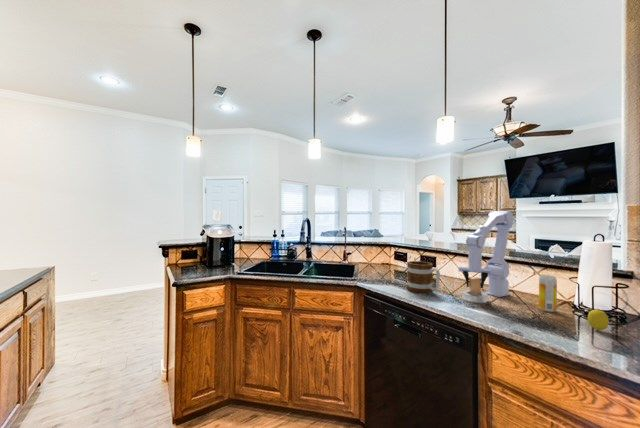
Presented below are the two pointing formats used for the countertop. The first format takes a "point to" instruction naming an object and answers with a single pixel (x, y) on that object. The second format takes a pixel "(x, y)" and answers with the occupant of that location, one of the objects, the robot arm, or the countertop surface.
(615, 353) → the countertop surface
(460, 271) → the robot arm
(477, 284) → the tan cup
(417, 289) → the mug
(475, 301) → the round grey ashtray
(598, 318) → the lemon
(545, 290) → the beer can
